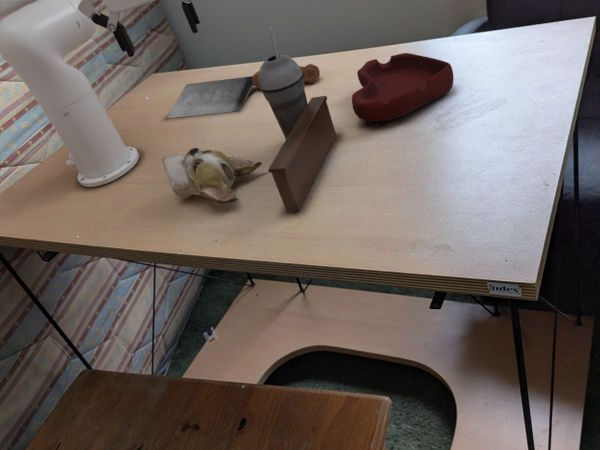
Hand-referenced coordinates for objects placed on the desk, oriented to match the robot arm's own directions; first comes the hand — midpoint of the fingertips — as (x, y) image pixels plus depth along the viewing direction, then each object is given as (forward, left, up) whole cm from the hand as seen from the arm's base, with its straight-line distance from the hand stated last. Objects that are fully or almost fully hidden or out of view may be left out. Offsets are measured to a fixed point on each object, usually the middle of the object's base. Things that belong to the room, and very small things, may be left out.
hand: (163, 42), depth 80 cm
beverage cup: (+11, +9, -24) cm, 28 cm away
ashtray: (+27, +20, -24) cm, 41 cm away
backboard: (+16, 0, -24) cm, 29 cm away
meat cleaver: (-10, +29, -24) cm, 39 cm away
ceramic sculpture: (0, -4, -24) cm, 24 cm away
